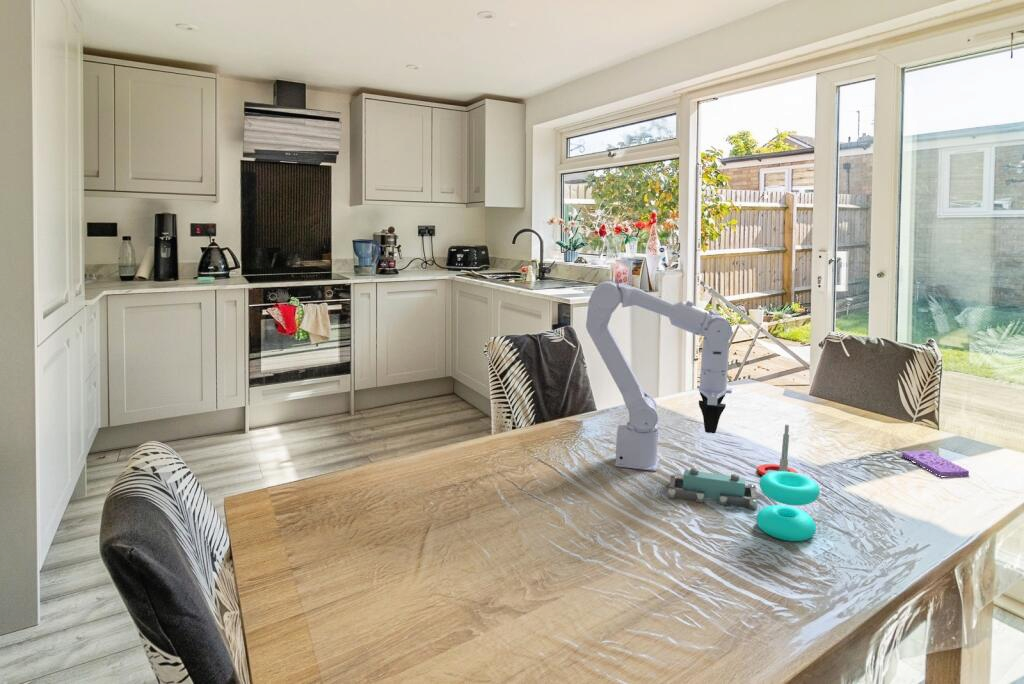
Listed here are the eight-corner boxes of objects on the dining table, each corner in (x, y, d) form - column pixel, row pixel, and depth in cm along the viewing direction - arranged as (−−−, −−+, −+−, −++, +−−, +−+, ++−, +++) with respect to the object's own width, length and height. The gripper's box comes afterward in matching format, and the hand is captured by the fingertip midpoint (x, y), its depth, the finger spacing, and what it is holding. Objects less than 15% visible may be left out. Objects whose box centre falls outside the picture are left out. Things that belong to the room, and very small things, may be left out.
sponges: (927, 457, 150) (928, 449, 149) (969, 478, 137) (970, 470, 137) (900, 458, 149) (901, 450, 149) (939, 479, 137) (940, 471, 137)
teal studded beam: (682, 495, 128) (683, 471, 127) (684, 489, 131) (685, 466, 130) (743, 504, 124) (745, 480, 123) (744, 498, 127) (745, 474, 126)
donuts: (802, 468, 117) (832, 490, 107) (797, 517, 118) (826, 543, 109) (750, 469, 116) (775, 491, 106) (746, 518, 118) (771, 545, 108)
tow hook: (753, 467, 143) (763, 482, 134) (757, 413, 141) (767, 424, 132) (791, 470, 142) (803, 484, 133) (795, 415, 140) (808, 427, 131)
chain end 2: (718, 505, 123) (719, 497, 123) (718, 488, 131) (719, 480, 131) (757, 510, 121) (758, 502, 121) (754, 492, 129) (755, 484, 129)
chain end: (667, 498, 126) (667, 490, 126) (670, 482, 134) (670, 474, 134) (704, 503, 124) (704, 495, 124) (705, 486, 132) (705, 478, 132)
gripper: (733, 378, 129) (729, 439, 132) (732, 363, 143) (728, 419, 145) (698, 375, 132) (695, 436, 134) (700, 361, 145) (697, 416, 148)
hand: (710, 427), depth 140 cm, fingers open, 7 cm apart
